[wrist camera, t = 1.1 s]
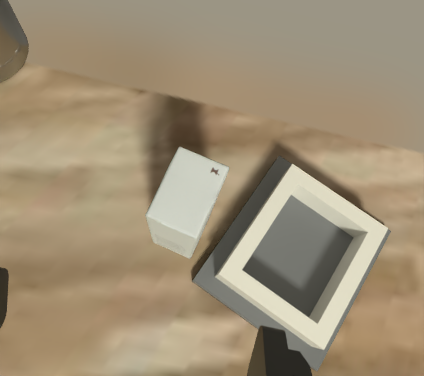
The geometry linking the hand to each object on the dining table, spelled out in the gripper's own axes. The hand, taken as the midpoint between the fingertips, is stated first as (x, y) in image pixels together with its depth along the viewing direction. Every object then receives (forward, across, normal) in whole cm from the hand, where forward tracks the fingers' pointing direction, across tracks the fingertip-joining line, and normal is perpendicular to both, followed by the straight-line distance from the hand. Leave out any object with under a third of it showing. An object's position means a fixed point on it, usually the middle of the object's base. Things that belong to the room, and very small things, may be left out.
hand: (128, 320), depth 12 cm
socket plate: (+26, -11, +8) cm, 29 cm away
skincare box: (+26, +1, +7) cm, 27 cm away
